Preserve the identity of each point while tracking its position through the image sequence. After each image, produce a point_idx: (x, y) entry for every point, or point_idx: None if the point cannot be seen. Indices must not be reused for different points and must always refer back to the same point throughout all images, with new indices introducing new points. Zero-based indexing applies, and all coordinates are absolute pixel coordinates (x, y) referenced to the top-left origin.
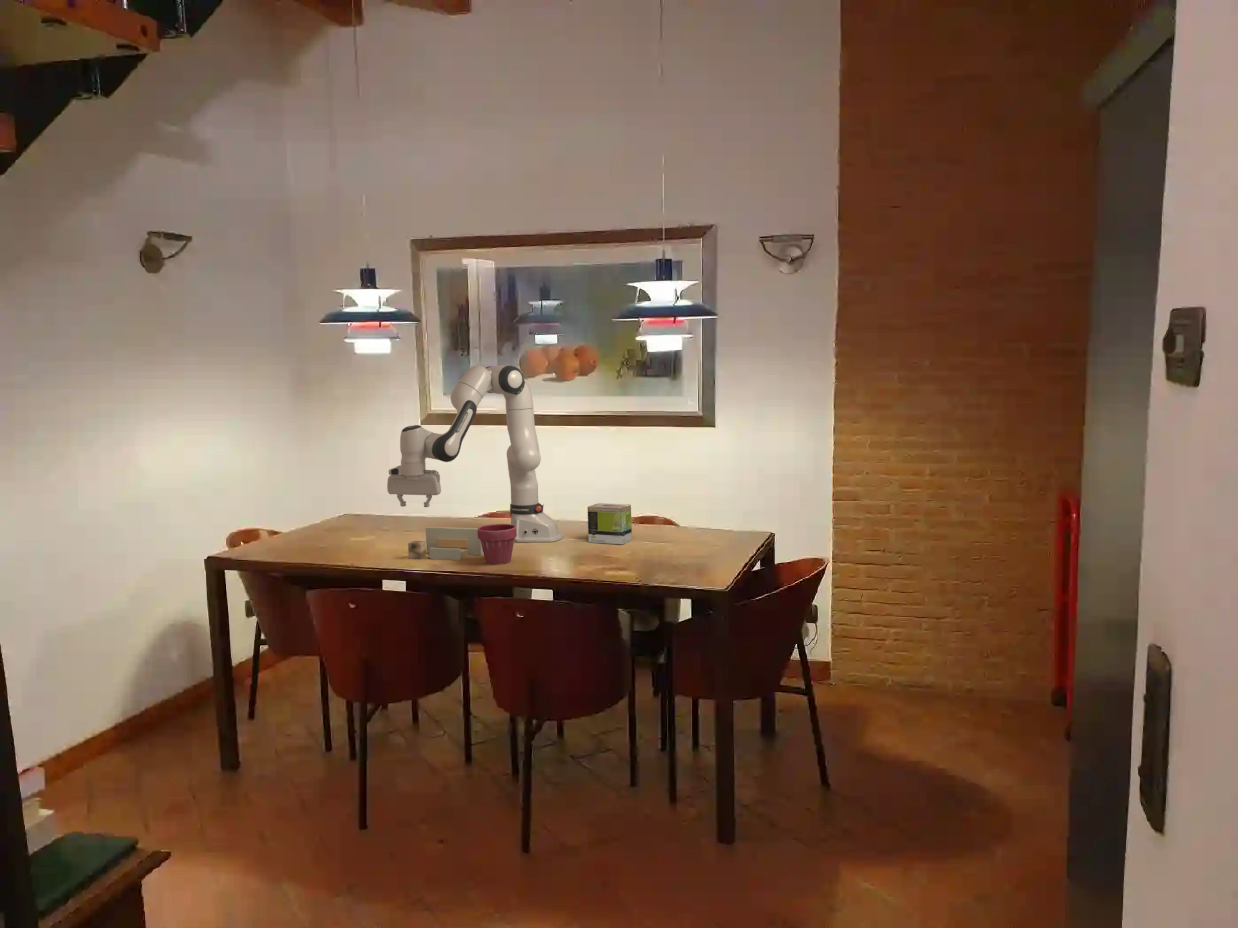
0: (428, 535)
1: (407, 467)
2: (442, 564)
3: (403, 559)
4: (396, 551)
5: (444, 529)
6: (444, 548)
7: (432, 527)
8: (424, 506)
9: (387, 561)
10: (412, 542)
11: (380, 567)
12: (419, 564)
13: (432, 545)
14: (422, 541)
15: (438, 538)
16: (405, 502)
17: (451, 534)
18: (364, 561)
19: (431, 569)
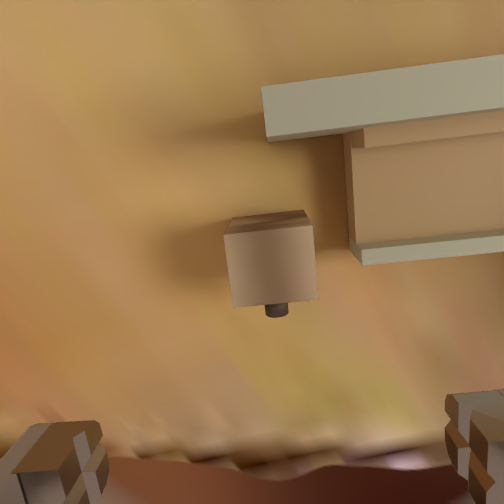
0: (287, 136)
1: None
2: (468, 336)
3: (223, 294)
4: (70, 140)
5: (448, 114)
6: (458, 247)
7: (321, 106)
8: (461, 460)
9: (173, 347)
10: (249, 282)
11: (214, 443)
12: (356, 361)
13: (309, 136)
14: (297, 239)
15: (365, 127)
16: (73, 469)
17: (492, 110)
18: (72, 371)
19: None
